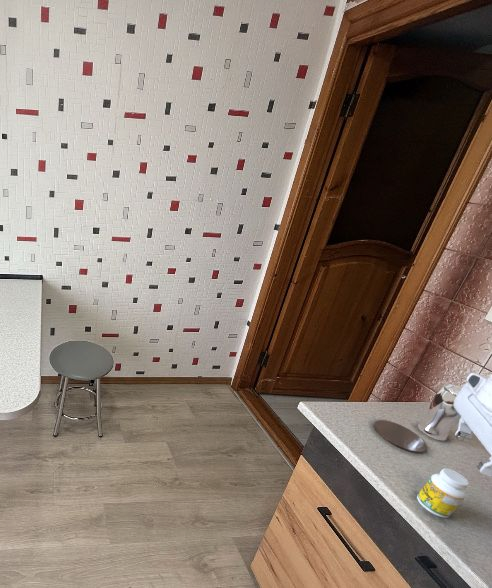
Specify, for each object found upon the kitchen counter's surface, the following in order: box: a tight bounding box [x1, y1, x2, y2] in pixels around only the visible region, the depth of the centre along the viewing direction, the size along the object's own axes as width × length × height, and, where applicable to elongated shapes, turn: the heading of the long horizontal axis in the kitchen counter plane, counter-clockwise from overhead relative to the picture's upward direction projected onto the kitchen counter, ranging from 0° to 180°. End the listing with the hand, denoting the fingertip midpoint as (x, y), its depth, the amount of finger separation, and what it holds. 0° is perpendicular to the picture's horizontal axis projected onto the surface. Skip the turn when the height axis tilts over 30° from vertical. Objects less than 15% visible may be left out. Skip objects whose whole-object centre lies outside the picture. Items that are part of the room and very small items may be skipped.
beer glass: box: [417, 382, 463, 442], centre depth 92 cm, size 7×7×15 cm
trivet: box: [373, 419, 427, 454], centre depth 92 cm, size 11×11×1 cm
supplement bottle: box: [416, 468, 470, 519], centre depth 71 cm, size 5×5×10 cm
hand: (471, 454), depth 67 cm, fingers open, 8 cm apart
